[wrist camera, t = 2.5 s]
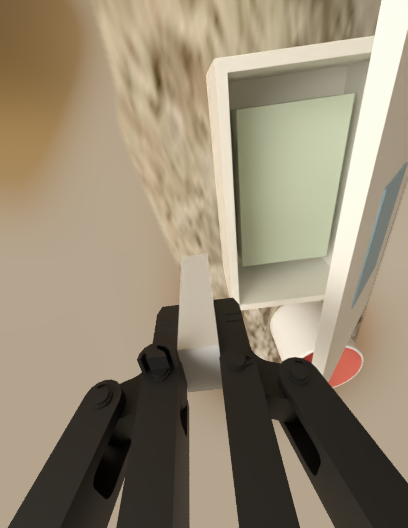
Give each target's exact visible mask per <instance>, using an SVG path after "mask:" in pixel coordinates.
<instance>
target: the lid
mask: <svg viewBox="0 0 408 528" xmlns="http://www.w3.org/2000/svg"><path fill="white" fill-rule="evenodd" d="M407 178H408V0H382V1H381V6H380V11H379V16H378V22H377V27H376V32H375V37H374V42H373V48H372V53H371V58H370V63H369V68H368V74H367V79H366V84H365V89H364V94H363V99H362V105H361V110H360V115H359V120H358V125H357V131H356V136H355V141H354V146H353V151H352V156H351V162H350V167H349V172H348V177H347V182H346V188H345V193H344V198H343V203H342V208H341V213H340V219H339V224H338V229H337V234H336V239H335V245H334V250H333V255H332V260H331V265H330V271H329V276H328V281H327V286H326V291H325V296H324V302H323V307H322V312H321V317H320V322H319V328H318V333H317V338H316V343H315V348H314V353H313V359H312V364H313V365H314V366H315V367H316V368H317V369H318V370H319V372H320V373H321V374H322V375H323V377H324V378H325V379H326V380H327V382H329V380H330V378H331V376H332V374H333V372H334V370H335V368H336V366H337V364H338V362H339V360H340V358H341V355H342V353H343V351H344V349H345V347H346V345H347V343H348V341H349V339H350V337H351V335H352V333H353V331H354V329H355V327H356V325H357V323H358V321H359V319H360V317H361V315H362V313H363V310H364V308H365V306H366V304H367V302H368V299H369V296H370V293H371V290H372V287H373V284H374V280H375V277H376V274H377V271H378V268H379V265H380V262H381V259H382V256H383V253H384V249H385V246H386V243H387V240H388V237H389V234H390V231H391V228H392V225H393V221H394V218H395V215H396V212H397V209H398V206H399V203H400V200H401V197H402V193H403V190H404V187H405V184H406V181H407Z"/></svg>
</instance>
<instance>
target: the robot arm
mask: <svg viewBox="0 0 408 528" xmlns="http://www.w3.org/2000/svg"><path fill="white" fill-rule="evenodd" d="M137 361H138V363H139V366H140V368H141V371H142V373H141V374H139V375H138V376H136V377H134V378H133V379H130V380H128V381H126V382H123V383H121V384H118V382H116V381H114V380H104V381H102V382H99V383H98V384H96V385H95V386H94V387H92V388H91V389H90V390H89V391H88V393H87V394H86V395H85V397H84V399H83V401H82V402H81V404H80V406H79V407H78V409H77V411H76V412H75V414H74V416H73V418H72V419H71V421H70V423H69V424H68V426H67V428H66V429H65V431H64V433H63V434H62V436H61V438H60V440H59V441H58V443H57V445H56V446H55V448H54V450H53V452H52V453H51V455H50V457H49V458H48V460H47V462H46V463H45V465H44V467H43V469H42V470H41V472H40V474H39V475H38V477H37V479H36V481H35V482H34V484H33V486H32V487H31V489H30V491H29V492H28V494H27V496H26V497H25V500H24V501H23V503H22V504H21V506H20V508H19V509H18V511H17V513H16V515H15V516H14V518H13V520H12V521H11V523H10V525H9V527H8V528H107V526H108V523H109V520H110V517H111V515H112V512H113V509H114V506H115V503H116V500H117V497H118V495H119V492H120V489H121V486H122V484H123V481H124V478H125V481H124V487H123V492H122V498H121V504H120V510H119V516H118V521H117V527H116V528H189V405H188V400H187V388H188V392H195V391H203V390H213V389H221V388H223V395H224V403H225V412H226V419H227V428H228V437H229V446H230V454H231V463H232V471H233V479H234V487H235V496H236V505H237V513H238V521H239V528H300V526H299V522H298V518H297V515H296V511H295V507H294V504H293V499H292V495H291V492H290V488H289V484H288V480H287V476H286V473H285V469H284V465H283V461H282V457H281V454H280V450H279V446H278V442H277V438H276V435H275V431H274V427H273V424H272V420H271V419H275V420H279V422H280V424H281V426H282V428H283V430H284V431H285V433H286V435H287V437H288V439H289V441H290V443H291V445H292V446H293V449H294V450H295V452H296V454H297V456H298V458H299V460H300V462H301V464H302V466H303V468H304V469H305V471H306V473H307V475H308V477H309V479H310V481H311V483H312V485H313V486H314V489H315V490H316V492H317V494H318V496H319V498H320V500H321V502H322V504H323V506H324V508H325V510H326V511H327V513H328V515H329V517H330V519H331V521H332V523H333V525H334V527H335V528H408V483H407V482H406V481H405V479H404V478H403V477H402V475H401V474H400V473H399V472H398V470H397V469H396V468H395V467H394V465H393V464H392V463H391V461H390V460H389V459H388V458H387V457H386V455H385V454H384V453H383V451H382V450H381V449H380V448H379V446H378V445H377V444H376V442H375V441H374V440H373V439H372V438H371V436H370V435H369V434H368V432H367V431H366V430H365V429H364V427H363V426H362V425H361V423H360V422H359V421H358V420H357V418H355V416H354V415H353V413H352V412H351V411H350V410H349V408H348V407H347V406H346V404H345V403H344V402H343V401H342V399H341V398H340V397H339V396H338V394H337V393H336V392H335V391H334V389H333V388H332V387H331V386H330V384H329V383H328V382H327V380H326V379H325V378H324V377H323V375H322V374H321V373H320V372H319V370H318V369H317V368H316V367H315V366H314V365H313V364H312V363H311V362H309V361H307V360H305V359H303V358H298V357H292V358H288V359H286V360H284V361H283V362H282V363H281V364H280V363H275V362H269V361H266V360H263V359H261V358H259V357H258V356H257V355H255V354H254V352H253V351H252V350H251V347H250V344H249V340H248V336H247V333H246V329H245V325H244V321H243V317H242V314H241V309H240V305H239V303H238V302H237V301H236V300H235V299H234V298H226V299H218V300H213V295H212V287H211V279H210V271H209V263H208V256H207V253H206V254H198V255H191V256H183V257H182V263H181V285H180V304H179V305H175V306H166V307H162V308H161V310H160V311H159V313H158V315H157V320H156V326H155V333H154V339H153V344H151V345H149V346H147V347H146V348H144V349H143V350H142V352H141V353H140V354H139V356H138V359H137Z"/></svg>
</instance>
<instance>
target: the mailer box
mask: <svg viewBox="0 0 408 528" xmlns="http://www.w3.org/2000/svg"><path fill="white" fill-rule="evenodd" d="M374 37H375V36H368V37H361V38H354V39H347V40H340V41H334V42H327V43H320V44H313V45H306V46H299V47H292V48H285V49H278V50H271V51H264V52H257V53H250V54H243V55H236V56H229V57H223V58H216V59H214V60H213V62H212V64H211V66H210V68H209V70H208V72H207V74H206V82H207V93H208V104H209V115H210V126H211V137H212V148H213V159H214V170H215V181H216V193H217V204H218V215H219V226H220V237H221V248H222V259H223V269H224V273H225V278H226V282H227V287H228V292H229V296H230V298H234V299H235V300H236V301H237V302H238V303H239V305H240V309H241V310H248V309H256V308H264V307H272V306H280V305H288V304H296V303H304V302H312V301H320V300H324V296H325V291H326V286H327V281H328V276H329V271H330V265H331V260H332V255H333V250H334V245H335V239H336V234H337V229H338V224H339V219H340V213H341V208H342V203H343V198H344V193H345V188H346V182H347V177H348V172H349V167H350V162H351V156H352V151H353V146H354V141H355V136H356V131H357V125H358V120H359V115H360V110H361V105H362V99H363V94H364V89H365V84H366V79H367V74H368V68H369V63H370V58H371V53H372V48H373V42H374Z"/></svg>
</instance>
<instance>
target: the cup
mask: <svg viewBox="0 0 408 528" xmlns="http://www.w3.org/2000/svg"><path fill="white" fill-rule="evenodd" d="M322 307H323V302H322V301H312V302H304V303H296V304H288V305H282V306H281V307H279V308H278V309H277V311H276V312H275V313H274V315H273V317H272V319H271V323H270V329H271V332H272V335H273V338H274V341H275V343H276V346H277V349H278V351H279V354H280V357H281V360H282V362H283V361H284V360H286V359H288V358H292V357H298V358H303V359H305V360H307V361H309V362H311V363H312V359H313V353H314V348H315V343H316V338H317V333H318V328H319V322H320V317H321V312H322ZM363 360H364V359H363V355H362V353H361V352H360V350H359V349H358V348H357V346H356V345H355V343H354V342H353V340H352V339H351V338H350V339H349V341H348V343H347V345H346V347H345V349H344V351H343V353H342V355H341V358H340V360H339V362H338V364H337V366H336V368H335V370H334V372H333V374H332V376H331V378H330V380H329V382H328V383H329V384H330V386H331V387H332V388H334V387H337V386H339V385H341V384H344V383H345V382H347V381H349V380H350V379H351V378H353V377H354V376H355V375H356V374H357V373H358V372H359V371H360V369H361V367H362V365H363Z"/></svg>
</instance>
